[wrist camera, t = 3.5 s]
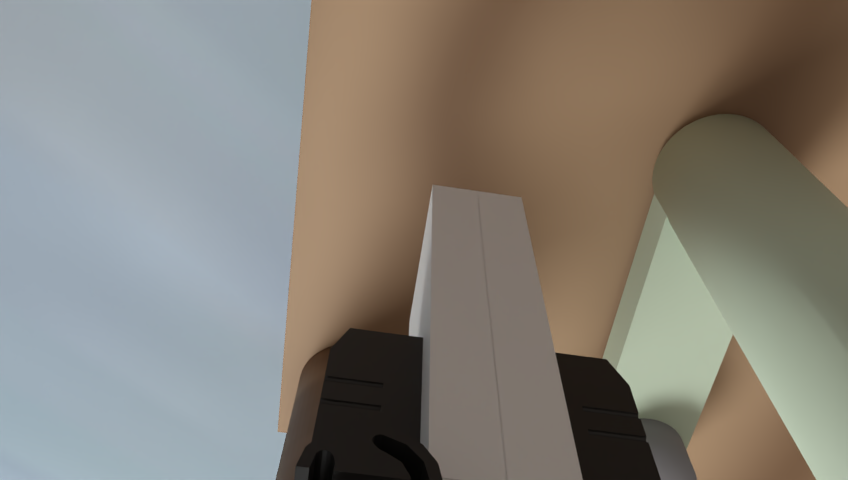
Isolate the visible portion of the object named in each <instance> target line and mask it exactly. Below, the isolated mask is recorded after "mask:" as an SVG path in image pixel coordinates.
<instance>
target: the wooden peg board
mask: <svg viewBox="0 0 848 480" xmlns="http://www.w3.org/2000/svg"><path fill="white" fill-rule="evenodd" d="M717 114H735V115H740V116H744V117H747V118H750V119H752V120H754V121H756V122H757V123H759V124H760V125H762V126H763V127H764V128H765V129H766V130H767V131H768V132H769V133H770V134H771V135H772V136H773V137H775V138H776V139H777V140H778V141H779V142H780V143H781V144H782V145H783V146H784V147H785V148H786V149H787V150H788V151H789V152H790V153H791V154H792V155H793V156H794V157H795V158H796V159H797V160H798V161H800V162H801V163H802V164H803V165H804V166H805V167H806V168H807V169H808V170H809V171H810V172H811V173H812V174H813V175H814V176H815V177H816V178H817V179H818V180H819V181H820V182H821V183H822V184H824V185H825V186H826V187H827V188H828V189H829V190H830V191H831V192H832V193H833V194H834V195H835V196H836V197H837V198H838V199H839V200H840V201H841V202H842V203H843V204H844V205H845V206H846V207H848V0H312V2H311V14H310V27H309V40H308V53H307V65H306V78H305V91H304V104H303V116H302V129H301V142H300V155H299V167H298V180H297V193H296V205H295V218H294V231H293V244H292V256H291V269H290V282H289V295H288V307H287V320H286V333H285V346H284V358H283V371H282V384H281V396H280V409H279V422H278V432H285V433H287V434H286V438H285V443H284V447H283V451H282V455H281V460H280V464H279V468H278V472H277V477H276V480H294V477H295V467H296V464H297V462H298V460H299V458H300V456H301V454H302V452H303V450H304V448H305V447H306V446H307V445H308V444H309V443H311V442H312V437H313V432H314V427H315V422H316V417H317V412H318V407H319V403H320V397H321V392H322V387H323V382H324V378H325V372H326V367H327V362H328V357H329V352H330V348H331V347H332V346H333V345H334V344H335V343H336V342H337V341H338V340H339V339H340V338H341V337H342V336H343V335H344V334H345V333H346V332H347V331H348V330H349V329H350V328H355V329H362V330H370V331H377V332H385V333H392V334H400V335H408V336H409V322H410V315H411V309H412V303H413V297H414V291H415V285H416V279H417V274H418V268H419V262H420V256H421V250H422V244H423V238H424V232H425V226H426V220H427V214H428V209H429V203H430V197H431V191H432V185H438V186H445V187H452V188H459V189H466V190H473V191H480V192H487V193H494V194H501V195H508V196H515V197H521V198H522V202H523V207H524V211H525V216H526V221H527V225H528V230H529V234H530V239H531V244H532V248H533V253H534V257H535V262H536V267H537V271H538V276H539V281H540V285H541V290H542V294H543V299H544V304H545V308H546V313H547V317H548V322H549V327H550V331H551V336H552V340H553V345H554V350H555V353H563V354H571V355H578V356H586V357H593V358H601V359H602V358H603V355H604V352H605V348H606V345H607V342H608V339H609V336H610V333H611V329H612V326H613V323H614V320H615V317H616V313H617V310H618V307H619V304H620V301H621V298H622V294H623V291H624V288H625V285H626V282H627V278H628V275H629V272H630V269H631V266H632V263H633V259H634V256H635V253H636V250H637V247H638V243H639V240H640V237H641V234H642V231H643V228H644V224H645V221H646V218H647V215H648V212H649V208H650V205H651V202H652V199H653V196H654V191H653V182H652V178H653V170H654V166H655V163H656V160H657V158H658V156H659V154H660V152H661V150H662V149H663V147H664V146H665V144H666V143H667V142H668V141H669V140H670V138H671V137H672V136H673V135H675V134H676V133H677V132H678V131H679V130H681V129H682V128H683V127H685V126H686V125H688V124H690V123H692V122H694V121H696V120H698V119H701V118H704V117H707V116H711V115H717ZM686 451H687V453H688V456H689V458H690V461H691V463H692V466H693V468H694V471H695V473H696V477H697V480H816V478H815V477H814V475H813V473H812V471H811V470H810V468H809V466H808V464H807V463H806V461H805V459H804V457H803V456H802V454H801V452H800V450H799V449H798V447H797V445H796V443H795V442H794V440H793V438H792V436H791V435H790V433H789V431H788V429H787V428H786V426H785V424H784V422H783V421H782V419H781V417H780V415H779V414H778V412H777V410H776V408H775V407H774V405H773V403H772V401H771V400H770V398H769V396H768V394H767V393H766V391H765V389H764V387H763V386H762V384H761V382H760V380H759V379H758V377H757V375H756V373H755V372H754V370H753V368H752V366H751V365H750V363H749V361H748V359H747V358H746V356H745V354H744V352H743V351H742V349H741V347H740V345H739V344H738V342H737V340H736V338H735V337H734V335H733V336H732V338H731V341H730V343H729V346H728V348H727V350H726V353H725V355H724V358H723V360H722V363H721V365H720V368H719V370H718V373H717V375H716V378H715V380H714V383H713V385H712V388H711V390H710V393H709V395H708V398H707V400H706V403H705V405H704V407H703V410H702V412H701V415H700V417H699V420H698V422H697V425H696V427H695V430H694V432H693V435H692V437H691V440H690V442H689V445H688V447H687V450H686Z"/></svg>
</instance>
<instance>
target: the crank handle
mask: <svg viewBox="0 0 848 480" xmlns="http://www.w3.org/2000/svg"><path fill="white" fill-rule="evenodd" d="M652 182H653V191H654V196H653V199H652V202H651V205H650V208H649V212H648V215H647V218H646V221H645V224H644V228H643V231H642V234H641V237H640V240H639V243H638V247H637V250H636V253H635V256H634V259H633V263H632V266H631V269H630V272H629V275H628V278H627V282H626V285H625V288H624V291H623V294H622V298H621V301H620V304H619V307H618V310H617V313H616V317H615V320H614V323H613V326H612V329H611V333H610V336H609V339H608V342H607V345H606V348H605V352H604V355H603V358H602V359H607V360H608V361H609V363H610V364H611V365H612V366H613V367H614V368H615V369H616V371H617V372H618V373H619V374H620V375H621V376H622V377H623V379H624V380H625V381H626V382H627V383H628V384H629V386H630V389H631V392H632V395H633V398H634V401H635V404H636V407H637V410H638V413H639V414H638V418H639V419H641V421H642V424H643V427H644V430H645V433H646V442H649V445H650V448H651V451H652V454H653V457H654V460H655V463H656V466H657V469H658V472H659V475H660V478H661V480H697V477H696V473H695V471H694V468H693V466H692V463H691V461H690V458H689V456H688V453H687V451H686V450H687V447H688V445H689V442H690V440H691V437H692V435H693V432H694V430H695V427H696V425H697V422H698V420H699V417H700V415H701V412H702V410H703V407H704V405H705V403H706V400H707V398H708V395H709V393H710V390H711V388H712V385H713V383H714V380H715V378H716V375H717V373H718V370H719V368H720V365H721V363H722V360H723V358H724V355H725V353H726V350H727V348H728V346H729V343H730V341H731V338H732V336H733V335H734V337H735V338H736V340H737V342H738V344H739V345H740V347H741V349H742V351H743V352H744V354H745V356H746V358H747V359H748V361H749V363H750V365H751V366H752V368H753V370H754V372H755V373H756V375H757V377H758V379H759V380H760V382H761V384H762V386H763V387H764V389H765V391H766V393H767V394H768V396H769V398H770V400H771V401H772V403H773V405H774V407H775V408H776V410H777V412H778V414H779V415H780V417H781V419H782V421H783V422H784V424H785V426H786V428H787V429H788V431H789V433H790V435H791V436H792V438H793V440H794V442H795V443H796V445H797V447H798V449H799V450H800V452H801V454H802V456H803V457H804V459H805V461H806V463H807V464H808V466H809V468H810V470H811V471H812V473H813V475H814V477H815V478H816V480H848V207H846V206H845V205H844V204H843V203H842V202H841V201H840V200H839V199H838V198H837V197H836V196H835V195H834V194H833V193H832V192H831V191H830V190H829V189H828V188H827V187H826V186H825V185H824V184H822V183H821V182H820V181H819V180H818V179H817V178H816V177H815V176H814V175H813V174H812V173H811V172H810V171H809V170H808V169H807V168H806V167H805V166H804V165H803V164H802V163H801V162H800V161H798V160H797V159H796V158H795V157H794V156H793V155H792V154H791V153H790V152H789V151H788V150H787V149H786V148H785V147H784V146H783V145H782V144H781V143H780V142H779V141H778V140H777V139H776V138H775V137H773V136H772V135H771V134H770V133H769V132H768V131H767V130H766V129H765V128H764V127H763V126H762V125H760V124H759V123H757V122H756V121H754V120H752V119H750V118H747V117H744V116H740V115H735V114H717V115H711V116H707V117H704V118H701V119H698V120H696V121H694V122H692V123H690V124H688V125H686V126H685V127H683V128H682V129H681V130H679V131H678V132H677V133H676V134H675V135H673V136H672V137H671V138H670V140H669V141H668V142H667V143H666V144H665V146H664V147H663V149H662V150H661V152H660V154H659V156H658V158H657V160H656V163H655V166H654V170H653V178H652Z"/></svg>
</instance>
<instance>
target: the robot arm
mask: <svg viewBox="0 0 848 480" xmlns="http://www.w3.org/2000/svg"><path fill="white" fill-rule="evenodd" d="M638 414H639V413H638V410H637V407H636V404H635V401H634V398H633V395H632V392H631V389H630V386H629V384H628V383H627V382H626V381H625V380H624V379H623V377H622V376H621V375H620V374H619V373H618V372H617V371H616V369H615V368H614V367H613V366H612V365H611V364H610V363H609V361H608V360H607V359H601V358H593V357H586V356H578V355H571V354H563V353H555V350H554V345H553V340H552V336H551V331H550V327H549V322H548V317H547V313H546V308H545V304H544V299H543V294H542V290H541V285H540V281H539V276H538V271H537V267H536V262H535V257H534V253H533V248H532V244H531V239H530V234H529V230H528V225H527V221H526V216H525V211H524V207H523V202H522V198H521V197H515V196H508V195H501V194H494V193H487V192H480V191H473V190H466V189H459V188H452V187H445V186H438V185H432V191H431V197H430V203H429V209H428V214H427V220H426V226H425V232H424V238H423V244H422V250H421V256H420V262H419V268H418V274H417V279H416V285H415V291H414V297H413V303H412V309H411V315H410V322H409V336H408V335H400V334H392V333H385V332H377V331H370V330H362V329H355V328H350V329H349V330H348V331H347V332H346V333H345V334H344V335H343V336H342V337H341V338H340V339H339V340H338V341H337V342H336V343H335V344H334V345H333V346H332V347H331V348H330V352H329V357H328V362H327V367H326V372H325V378H324V382H323V387H322V392H321V397H320V403H319V407H318V412H317V417H316V422H315V427H314V432H313V437H312V442H311V443H309V444H308V445H307V446H306V447H305V448H304V450H303V452H302V454H301V456H300V458H299V460H298V462H297V464H296V467H295V477H294V480H661V478H660V475H659V472H658V469H657V466H656V463H655V460H654V457H653V454H652V451H651V448H650V445H649V442H646V433H645V430H644V427H643V424H642V421H641V419H639V418H638Z"/></svg>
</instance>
